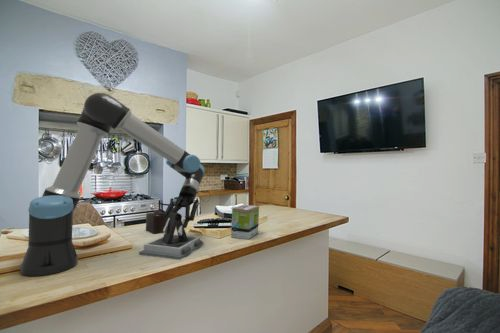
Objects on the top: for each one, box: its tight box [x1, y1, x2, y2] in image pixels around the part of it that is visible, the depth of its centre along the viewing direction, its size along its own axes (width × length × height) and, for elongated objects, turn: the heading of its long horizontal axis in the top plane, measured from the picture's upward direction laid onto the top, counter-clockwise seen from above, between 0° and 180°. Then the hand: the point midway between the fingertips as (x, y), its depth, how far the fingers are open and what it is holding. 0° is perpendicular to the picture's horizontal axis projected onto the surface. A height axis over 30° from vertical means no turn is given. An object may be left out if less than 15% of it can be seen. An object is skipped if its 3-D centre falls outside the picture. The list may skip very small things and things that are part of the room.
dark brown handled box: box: [145, 196, 178, 235], centre depth 140 cm, size 16×11×18 cm
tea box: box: [230, 204, 260, 240], centre depth 133 cm, size 15×10×15 cm, turn 161°
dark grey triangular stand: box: [162, 212, 188, 245], centre depth 108 cm, size 9×6×12 cm, turn 127°
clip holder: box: [138, 234, 204, 260], centre depth 107 cm, size 19×20×4 cm
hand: (172, 233), depth 106 cm, fingers closed on dark grey triangular stand, 6 cm apart
